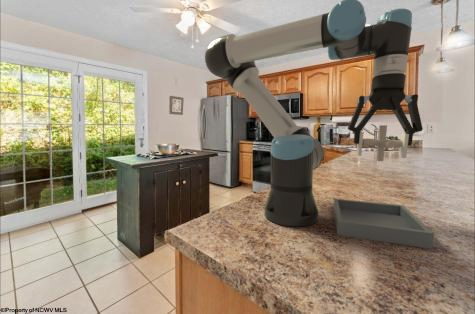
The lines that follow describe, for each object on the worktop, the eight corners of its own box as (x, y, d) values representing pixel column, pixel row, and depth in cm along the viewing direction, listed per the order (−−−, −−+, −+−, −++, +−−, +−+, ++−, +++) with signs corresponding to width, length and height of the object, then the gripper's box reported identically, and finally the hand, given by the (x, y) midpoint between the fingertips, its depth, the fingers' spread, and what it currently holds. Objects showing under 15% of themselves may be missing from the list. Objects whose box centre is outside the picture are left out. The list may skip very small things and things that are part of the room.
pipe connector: (409, 164, 56) (414, 125, 55) (368, 162, 58) (372, 125, 56) (388, 158, 66) (392, 125, 65) (354, 157, 67) (357, 125, 66)
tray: (337, 234, 51) (337, 221, 51) (333, 209, 68) (334, 198, 68) (432, 249, 45) (433, 233, 45) (402, 216, 62) (403, 205, 61)
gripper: (344, 74, 58) (338, 155, 61) (449, 68, 52) (436, 160, 55) (340, 80, 65) (335, 152, 69) (432, 76, 59) (421, 156, 62)
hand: (379, 156), depth 62 cm, fingers closed on pipe connector, 10 cm apart
